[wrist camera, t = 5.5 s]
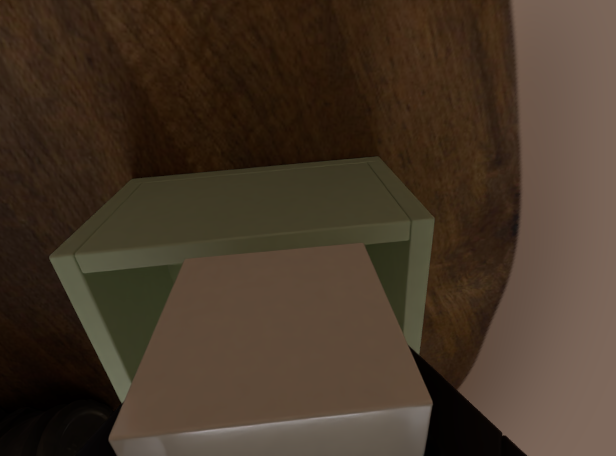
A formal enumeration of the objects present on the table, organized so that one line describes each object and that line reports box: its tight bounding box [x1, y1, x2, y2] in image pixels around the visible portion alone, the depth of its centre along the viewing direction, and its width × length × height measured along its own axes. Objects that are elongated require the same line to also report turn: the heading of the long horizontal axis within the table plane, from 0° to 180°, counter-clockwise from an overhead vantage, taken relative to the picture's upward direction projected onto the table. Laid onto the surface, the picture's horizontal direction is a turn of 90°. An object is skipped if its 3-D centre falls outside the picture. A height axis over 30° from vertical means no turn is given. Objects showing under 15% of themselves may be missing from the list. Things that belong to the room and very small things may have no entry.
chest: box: [49, 156, 435, 403], centre depth 18 cm, size 15×13×7 cm
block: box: [109, 243, 433, 456], centre depth 8 cm, size 4×4×4 cm
